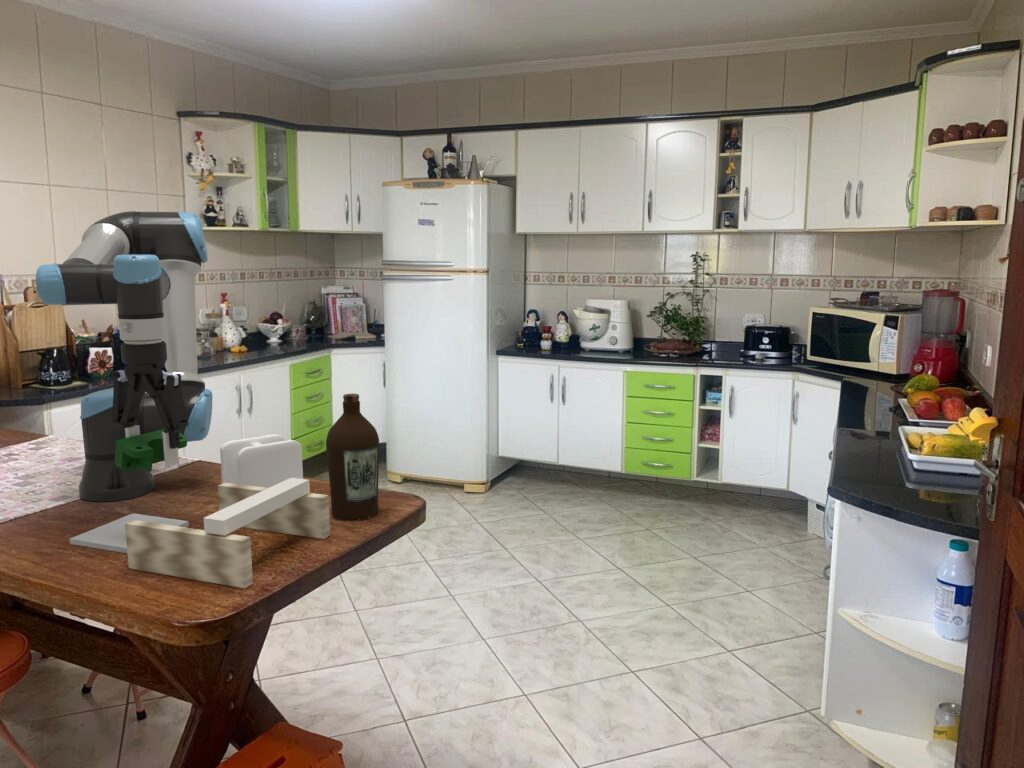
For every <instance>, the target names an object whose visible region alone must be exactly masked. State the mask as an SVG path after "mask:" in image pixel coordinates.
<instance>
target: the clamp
mask: <svg viewBox="0 0 1024 768" xmlns="http://www.w3.org/2000/svg"><path fill="white" fill-rule="evenodd" d="M164 430H166V429H163V430H159V431H154V432H150V433H146V434H141V435H137V436H132V437H128V438H124V439H119V440H116V450H115V464H116V465H117V466H118V467H120V468H122V469H123V470H125V471H128V470H132V469H135V468H139V467H142V468H143V469H145V470H146V471H148V472H152V469H153V464H158V463H162V462H165V459H164V446H163V434H162V432H163V431H164ZM179 436H180V447H178V450H180V449H183V448H184V449H185V448H186V447H187V446H188V442H187V440H188V438H187V437H186V436H184V435H183V434H181V433H179ZM175 465H177V464H175ZM175 465H174V466H175Z"/></svg>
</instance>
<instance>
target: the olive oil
mask: <svg viewBox="0 0 1024 768" xmlns="http://www.w3.org/2000/svg"><path fill="white" fill-rule="evenodd" d="M342 399H343V401H342V409H343V411H342V414H341V416H339V418H338V419H337V420H336V422H334V423H333V425H332V426H331V427H330V429H329V430H328V433H327V435H326V441H325V448H326V449H325V450H326V457H327V471H328V477H329V480H328V481H329V488H330V489H329V491H330V506H331V515H332V517H333V518H334V519H336V518H337V520H339V519H340V520H339V521H345V520H357V521H360V520H359V519H364V520H366V519H365V518H368V517H371V516H373V515H375V514H376V513H377V512H378V513H379V469H380V468H379V465H380V464H379V462H380V438H379V437H380V436H379V434H378V431H377V429H376V428H375V426H374V425H373V424H372V423H371V422H370V421H369V420H368V419H367V418H366V417H365V416H364V415H363V414H362V413H361V401H360V395H359V394H358V393H346V394H343V395H342ZM378 513H377V514H378ZM377 514H376V515H377ZM376 515H375V516H376ZM373 517H374V516H373ZM371 518H372V517H371ZM368 519H369V518H368Z"/></svg>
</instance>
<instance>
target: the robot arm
mask: <svg viewBox="0 0 1024 768" xmlns="http://www.w3.org/2000/svg"><path fill="white" fill-rule="evenodd" d="M202 225H203V224H202V222H201V218H200V217H199V215H198V214H196V213H194V212H185V211H179V210H177V211H134V210H133V211H132V210H129V211H122V212H118V213H114V214H111V215H108V216H106V217H103V218H101V219H99V220H98V221H95V222H94V223H93V224H91V225H90V226H89V227H88V228H86V230H85V231H84V232H83V234H82V237H81V243H80V244H79V245H78V246H77V247H76V248H75V249H74V250H73V251H72V253H71V254H70V255H69V256H68V257H67V258H66V259H65V260H64V261H63V262H62V263H54V262H53V263H52V264H51V263H49V264H42V265H40V266H38V268H36V269H37V270H36V274H35V287H36V292H37V295H38V298H39V300H40V301H41V303H43V304H44V305H48V306H49V305H50V306H51V305H52V306H61V307H65V306H82V305H83V306H87V305H88V306H89V305H116V307H117V318H118V330H119V339H120V340H121V341H123V342H122V343H121V345H120V354H121V361H122V363H123V364H124V365H125V368H124V369H119V370H115V371H112V372H111V378H112V383H113V387H111V388H105V389H102V390H98V391H94V392H91V393H88V394H86V395H85V396H84V397H82V399H81V400H80V416H79V417H80V418H79V419H80V420H81V431H82V432H81V433H82V441H83V449H84V450H83V451H84V461H85V462H84V467H83V471H82V476H81V481H80V482H79V484H78V485H79V486H78V491H79V492H78V493H79V497H80V498H81V500H84V501H89V502H90V501H91V502H112V501H113V502H114V501H121V500H122V501H123V500H128V499H133V498H136V497H140V496H143V495H145V494H148V493H149V492H151V491H153V490H154V489H155V487H156V486H155V477H154V475H153V474H152V473H151V472H152V471H151V472H148V471H146V470H145V469H143V468H142V467H139V468H135V469H132V470H128V471H125V470H123V469H122V468H120V467H118V466H117V465H116V464H115V450H116V440H119V439H124V438H128V437H132V436H137V435H141V434H146V433H150V432H154V431H159V430H163V429H166V430H164V431H163V432H162V434H163V446H164V459H165V461H164V467H165V468H170V467H173V466H175V464H176V465H177V464H180V459H179V458H180V457H179V449H178V447H180V436H179V433H181V434H183V435H184V436H186V437H187V438H188V440H187V443H189V442H198V441H203V440H204V439H205V438H207V436H208V435H209V431H210V427H211V423H212V422H211V421H212V415H213V414H212V413H213V392H212V390H211V389H208V388H206V383H205V381H204V380H203V379H202V378H201V377H200V376H199V373H198V347H197V344H198V343H197V341H198V339H197V310H196V305H197V304H196V278H195V277H196V276H197V275H198V274H199V273H201V271H202V264H205V263H208V261H209V257H208V250H207V244H206V240H205V235H204V230H203V229H204V228H203V226H202Z"/></svg>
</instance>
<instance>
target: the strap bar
mask: <svg viewBox="0 0 1024 768" xmlns="http://www.w3.org/2000/svg"><path fill="white" fill-rule="evenodd" d="M310 487H311V486H310V479H305V478H303V479H298V478H290V479H287V480H285V481H283V482H281V483H279V484H276V485H274V486H272V487H270V488H268V489H266V490H263V491H261V492H259V493H257V494H255V495H252V496H250V497H248V498H246V499H244V500H242V501H239V502H237V503H235V504H233V505H231V506H228V507H226V508H224V509H222V510H220V511H219V510H218V511H215V512H213V513H211V514H209V515H207V516H205V517H203V528H204V529H203V530H204V532H205V533H211V534H218V535H224V536H225V535H227V534H232V532H235V531H237V530H239V529H240V528H243V527H242V526H244V525H246V524H248V523H250V522H252V521H254V520H256V519H258V518H260V517H262V516H264V515H266V514H268V513H270V512H272V511H274V510H276V509H278V508H280V507H282V506H284V505H286V504H288V503H290V502H292V501H294V500H296V499H298V498H300V497H302V496H304V495H306V494H308V493H311V492H310V491H311V489H310Z"/></svg>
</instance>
